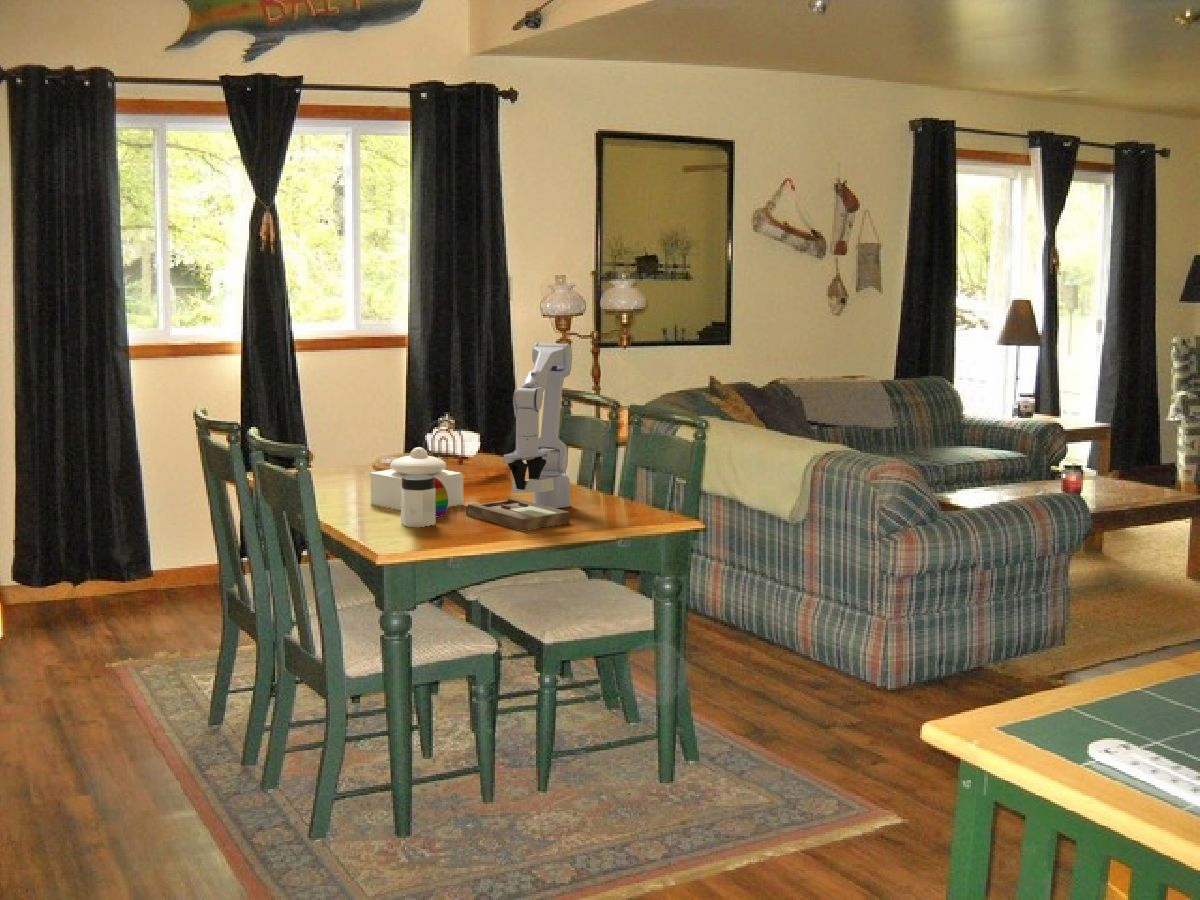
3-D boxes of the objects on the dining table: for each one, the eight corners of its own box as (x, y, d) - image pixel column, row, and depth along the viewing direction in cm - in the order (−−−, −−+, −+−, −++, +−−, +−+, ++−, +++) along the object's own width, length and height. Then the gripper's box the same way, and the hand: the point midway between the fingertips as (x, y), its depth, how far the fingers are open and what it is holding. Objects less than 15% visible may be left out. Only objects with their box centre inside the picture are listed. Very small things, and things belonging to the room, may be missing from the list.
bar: (524, 491, 341) (522, 479, 341) (554, 489, 334) (552, 477, 333) (512, 493, 338) (511, 481, 338) (542, 491, 331) (541, 479, 330)
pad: (531, 507, 342) (531, 506, 342) (557, 513, 335) (557, 512, 335) (509, 510, 338) (509, 509, 338) (535, 517, 330) (535, 516, 330)
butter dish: (415, 514, 346) (414, 454, 343) (369, 505, 357) (368, 446, 355) (463, 505, 359) (463, 447, 357) (417, 496, 370) (417, 440, 368)
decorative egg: (413, 512, 347) (413, 475, 346) (444, 511, 350) (444, 473, 348) (419, 519, 340) (419, 480, 338) (451, 517, 342) (451, 479, 341)
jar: (395, 526, 330) (395, 479, 329) (405, 519, 338) (405, 473, 337) (430, 528, 329) (430, 480, 327) (439, 521, 337) (439, 475, 335)
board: (511, 508, 356) (511, 494, 355) (569, 523, 338) (569, 508, 337) (465, 515, 346) (465, 500, 345) (522, 531, 328) (522, 516, 327)
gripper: (536, 430, 343) (536, 482, 345) (495, 435, 333) (494, 489, 335) (556, 433, 338) (555, 486, 341) (514, 439, 328) (514, 493, 330)
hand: (526, 488), depth 337 cm, fingers closed on bar, 4 cm apart
